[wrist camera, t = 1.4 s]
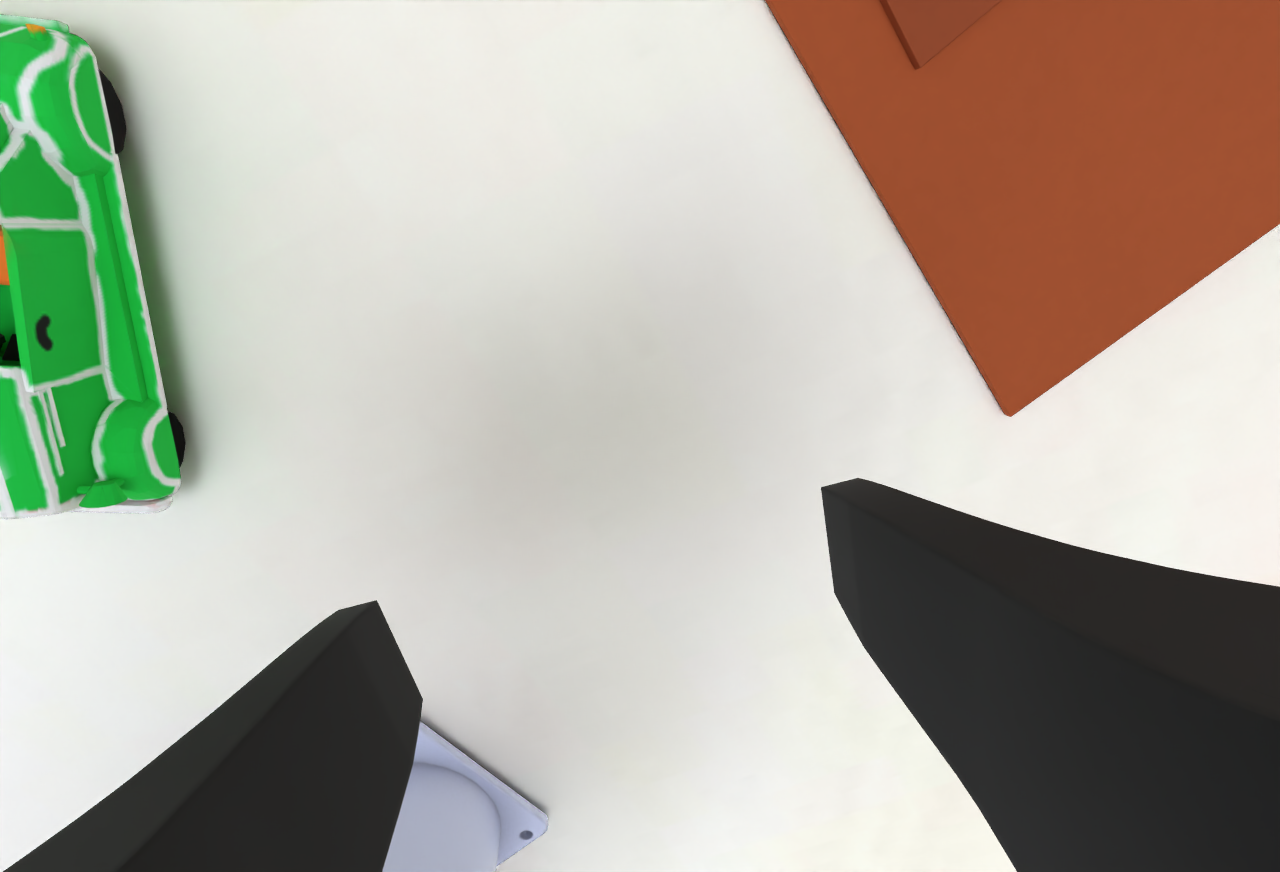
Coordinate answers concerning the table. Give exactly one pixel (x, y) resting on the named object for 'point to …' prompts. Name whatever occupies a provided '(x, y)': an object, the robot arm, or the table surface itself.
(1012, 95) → the rust cloth
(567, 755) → the table surface
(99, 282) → the toy car
